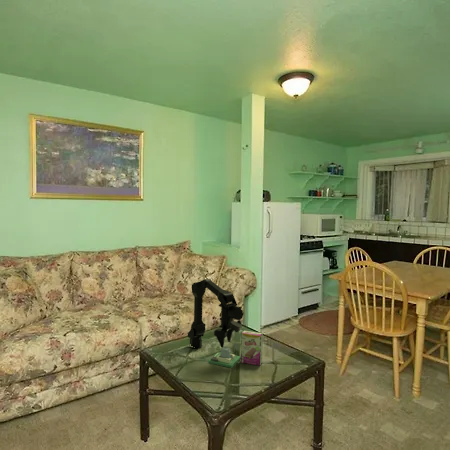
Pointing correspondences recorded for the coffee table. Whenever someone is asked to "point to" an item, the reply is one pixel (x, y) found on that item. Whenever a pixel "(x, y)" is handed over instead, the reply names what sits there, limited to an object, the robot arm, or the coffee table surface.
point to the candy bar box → (251, 347)
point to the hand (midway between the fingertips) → (225, 344)
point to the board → (224, 360)
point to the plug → (226, 352)
